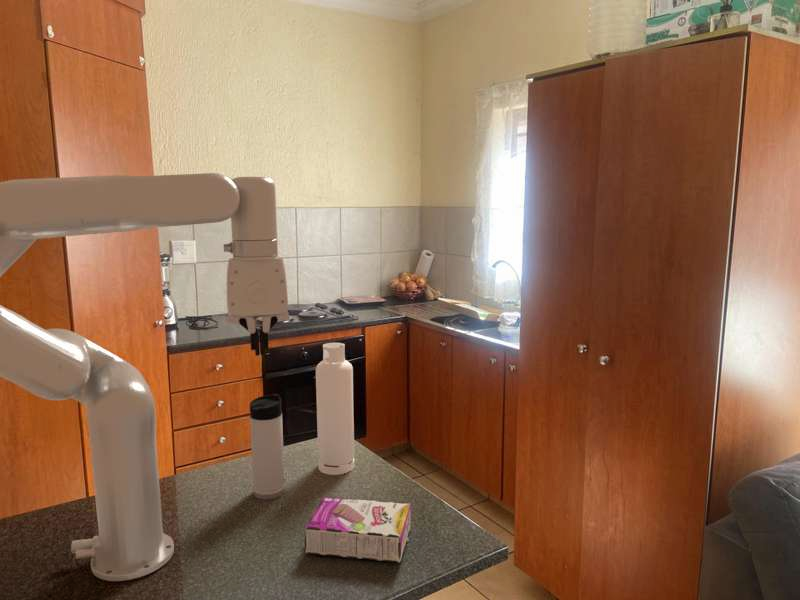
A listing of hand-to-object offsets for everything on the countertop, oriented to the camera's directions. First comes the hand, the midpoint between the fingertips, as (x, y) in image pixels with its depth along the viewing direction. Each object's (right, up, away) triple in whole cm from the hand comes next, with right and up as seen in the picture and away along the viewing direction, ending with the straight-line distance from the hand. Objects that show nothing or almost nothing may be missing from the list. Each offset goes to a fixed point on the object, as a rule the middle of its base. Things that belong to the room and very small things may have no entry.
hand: (259, 353), depth 103 cm
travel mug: (-2, -30, +16) cm, 34 cm away
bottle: (+11, -28, +28) cm, 41 cm away
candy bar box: (+9, -30, -1) cm, 31 cm away
